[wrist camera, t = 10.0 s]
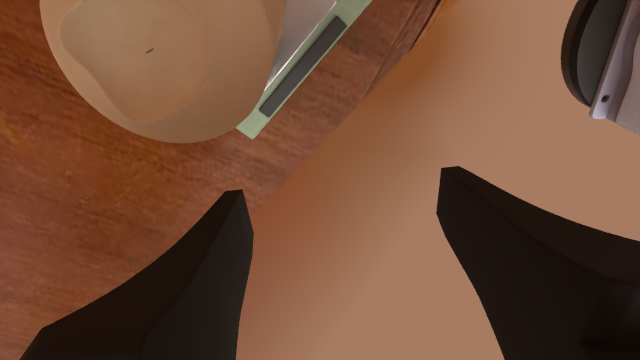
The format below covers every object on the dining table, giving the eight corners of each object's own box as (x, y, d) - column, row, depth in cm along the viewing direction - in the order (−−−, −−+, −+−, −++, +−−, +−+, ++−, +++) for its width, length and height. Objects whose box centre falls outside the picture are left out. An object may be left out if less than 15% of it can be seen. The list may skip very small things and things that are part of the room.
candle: (268, 83, 18) (239, 191, 9) (157, 48, 17) (8, 134, 8) (299, -37, 15) (298, -38, 7) (169, -88, 14) (-36, -170, 5)
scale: (368, -6, 18) (375, -3, 16) (256, 126, 22) (252, 142, 20) (203, -185, 14) (189, -207, 13) (101, 12, 18) (78, 17, 16)
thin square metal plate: (337, 0, 17) (338, 1, 16) (247, 111, 19) (245, 115, 19) (202, -139, 14) (197, -144, 13) (119, 15, 16) (112, 16, 16)
